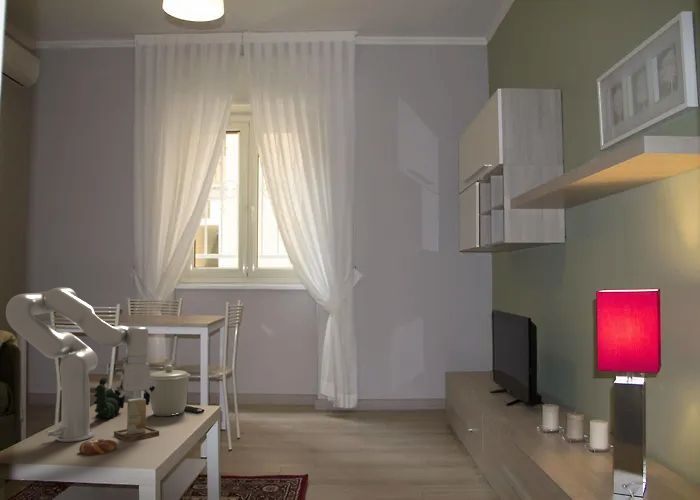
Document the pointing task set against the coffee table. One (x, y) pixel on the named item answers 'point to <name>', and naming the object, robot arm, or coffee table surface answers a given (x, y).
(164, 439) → the coffee table surface
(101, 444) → the pretzel
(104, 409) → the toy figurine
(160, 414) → the canister
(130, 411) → the skincare box
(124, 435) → the wooden tray
